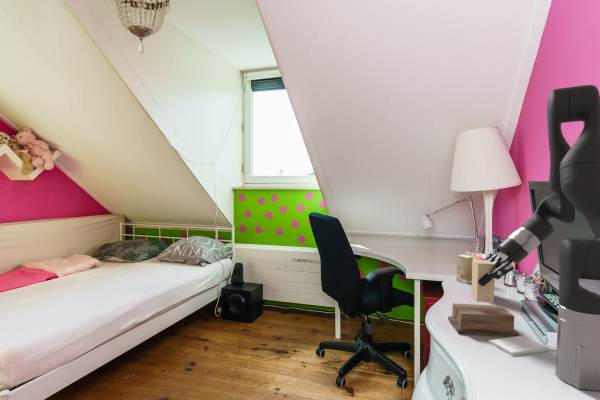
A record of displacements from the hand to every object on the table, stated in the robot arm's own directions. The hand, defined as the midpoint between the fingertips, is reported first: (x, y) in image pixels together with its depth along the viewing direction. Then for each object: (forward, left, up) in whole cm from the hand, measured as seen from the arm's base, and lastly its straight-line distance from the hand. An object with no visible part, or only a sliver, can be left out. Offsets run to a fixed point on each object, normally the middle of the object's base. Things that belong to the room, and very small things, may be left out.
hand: (476, 281), depth 113 cm
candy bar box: (+34, -14, -15) cm, 40 cm away
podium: (0, -2, -15) cm, 15 cm away
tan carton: (0, -2, -6) cm, 6 cm away
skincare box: (+55, -14, -15) cm, 59 cm away
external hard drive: (-12, -7, -16) cm, 21 cm away
